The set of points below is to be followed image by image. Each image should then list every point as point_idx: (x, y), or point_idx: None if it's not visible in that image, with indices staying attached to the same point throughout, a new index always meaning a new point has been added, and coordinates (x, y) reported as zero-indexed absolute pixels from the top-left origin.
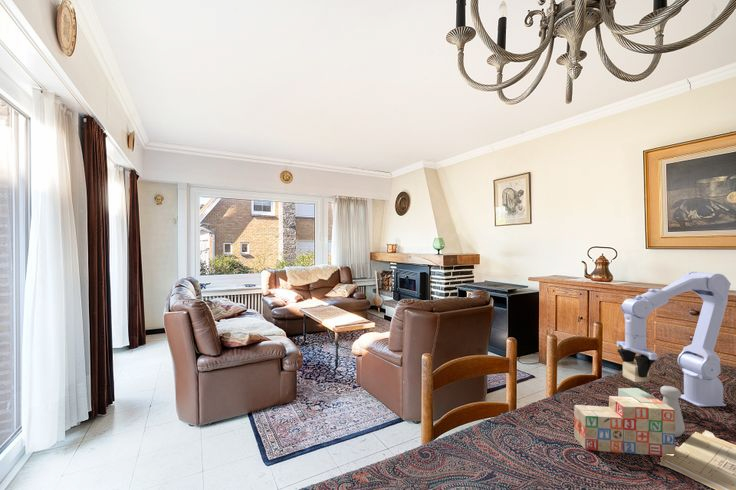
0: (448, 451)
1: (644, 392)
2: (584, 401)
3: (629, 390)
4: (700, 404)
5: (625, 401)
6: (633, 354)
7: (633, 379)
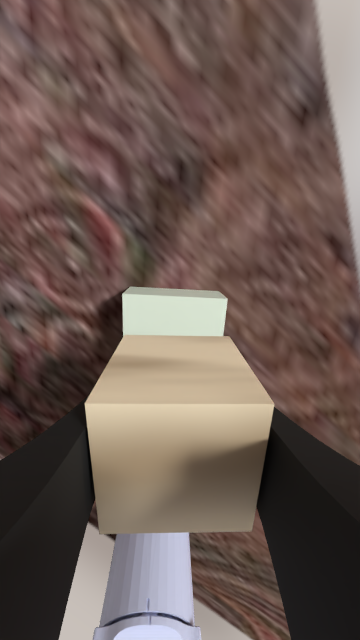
0: None
1: None
2: (199, 61)
3: (197, 333)
4: None
5: None
6: (303, 637)
7: (134, 340)
